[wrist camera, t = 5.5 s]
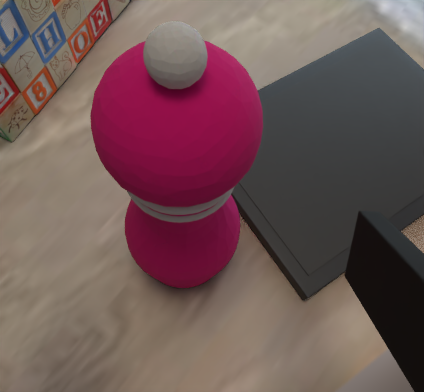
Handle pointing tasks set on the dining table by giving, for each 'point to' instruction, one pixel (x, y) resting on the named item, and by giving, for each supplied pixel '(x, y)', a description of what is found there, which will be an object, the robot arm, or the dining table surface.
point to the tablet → (336, 157)
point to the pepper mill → (178, 149)
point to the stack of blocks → (44, 51)
